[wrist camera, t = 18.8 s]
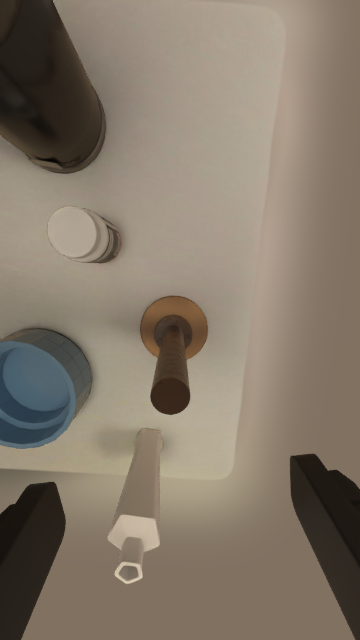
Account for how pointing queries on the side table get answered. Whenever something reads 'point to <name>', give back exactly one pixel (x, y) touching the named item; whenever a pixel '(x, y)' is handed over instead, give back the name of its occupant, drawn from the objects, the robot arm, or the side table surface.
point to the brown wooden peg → (171, 365)
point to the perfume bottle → (138, 507)
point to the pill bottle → (83, 235)
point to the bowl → (39, 387)
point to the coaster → (175, 307)
